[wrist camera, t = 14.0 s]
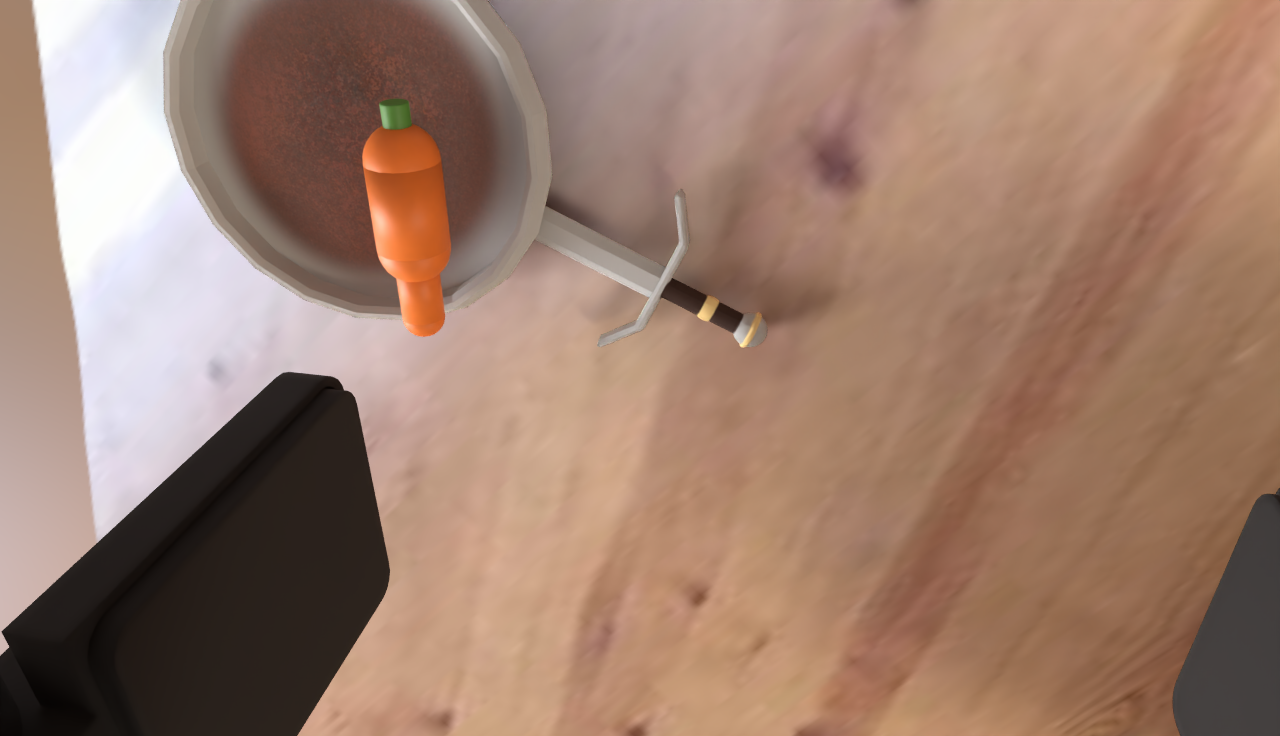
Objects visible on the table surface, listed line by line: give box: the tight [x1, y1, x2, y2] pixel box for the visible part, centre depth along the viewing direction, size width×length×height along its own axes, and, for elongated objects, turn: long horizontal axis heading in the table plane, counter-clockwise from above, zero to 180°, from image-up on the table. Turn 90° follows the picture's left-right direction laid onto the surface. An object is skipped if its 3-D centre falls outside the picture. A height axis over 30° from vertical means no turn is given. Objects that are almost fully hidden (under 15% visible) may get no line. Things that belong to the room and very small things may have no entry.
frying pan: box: [163, 0, 768, 348], centre depth 38 cm, size 17×3×28 cm
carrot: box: [362, 99, 451, 337], centre depth 36 cm, size 10×3×3 cm
